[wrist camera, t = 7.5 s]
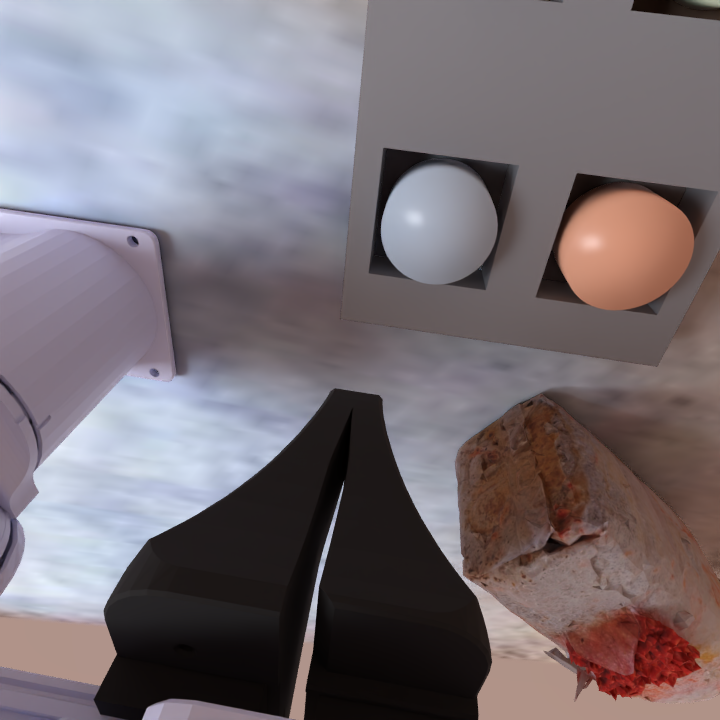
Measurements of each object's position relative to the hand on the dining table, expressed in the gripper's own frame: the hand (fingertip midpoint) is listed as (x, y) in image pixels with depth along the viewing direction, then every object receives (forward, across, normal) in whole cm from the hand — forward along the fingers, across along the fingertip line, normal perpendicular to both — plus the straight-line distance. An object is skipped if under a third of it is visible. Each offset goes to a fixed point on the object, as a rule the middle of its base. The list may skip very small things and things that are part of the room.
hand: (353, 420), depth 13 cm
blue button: (+9, -2, -3) cm, 10 cm away
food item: (+10, -12, +11) cm, 19 cm away
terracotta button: (+9, -8, -4) cm, 13 cm away
